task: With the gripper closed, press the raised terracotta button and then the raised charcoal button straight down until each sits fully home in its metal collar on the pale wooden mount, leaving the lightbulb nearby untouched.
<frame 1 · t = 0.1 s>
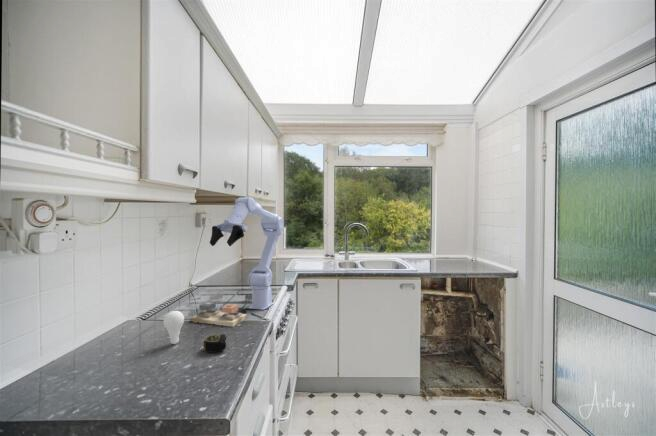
hand: (220, 244, 111), 32 cm above the countertop, fingers open, 7 cm apart
button mount: (219, 319, 122), on the countertop
button charcoal: (207, 306, 124), point 5 cm above the countertop, slide at 2.5 cm
lightbulb: (174, 344, 100), on the countertop
tape measure: (217, 349, 96), on the countertop
button terracotta: (230, 308, 120), point 5 cm above the countertop, slide at 2.5 cm
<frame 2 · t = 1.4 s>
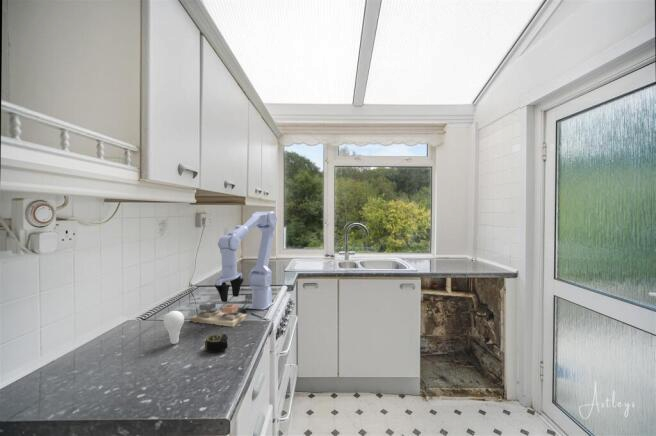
hand: (230, 299, 120), 9 cm above the countertop, fingers open, 7 cm apart
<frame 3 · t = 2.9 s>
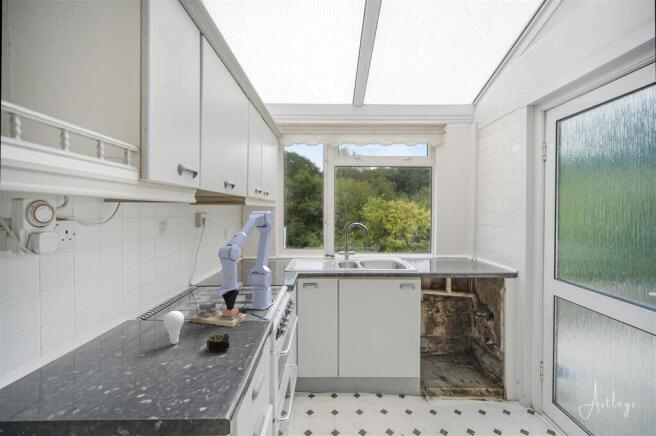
hand: (230, 309, 120), 5 cm above the countertop, fingers closed, pressing on button terracotta
button terracotta: (230, 311, 120), point 4 cm above the countertop, slide at 1.0 cm, touching gripper
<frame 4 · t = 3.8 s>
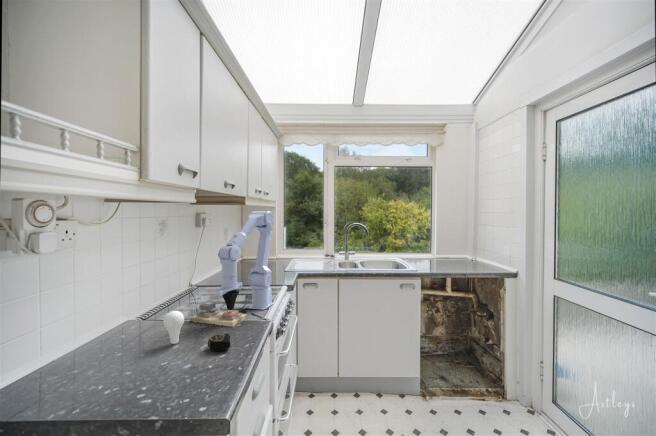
hand: (230, 309, 120), 5 cm above the countertop, fingers closed
button terracotta: (230, 314, 120), point 3 cm above the countertop, slide at -0.1 cm, touching button mount
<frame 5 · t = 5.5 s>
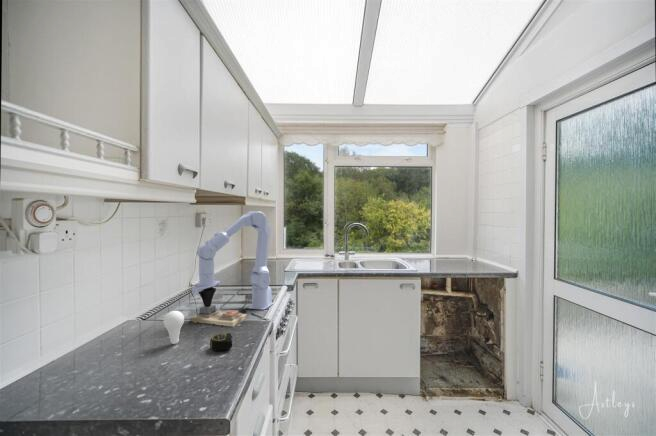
hand: (207, 306, 124), 5 cm above the countertop, fingers closed, pressing on button charcoal
button charcoal: (207, 308, 124), point 4 cm above the countertop, slide at 1.3 cm, touching gripper
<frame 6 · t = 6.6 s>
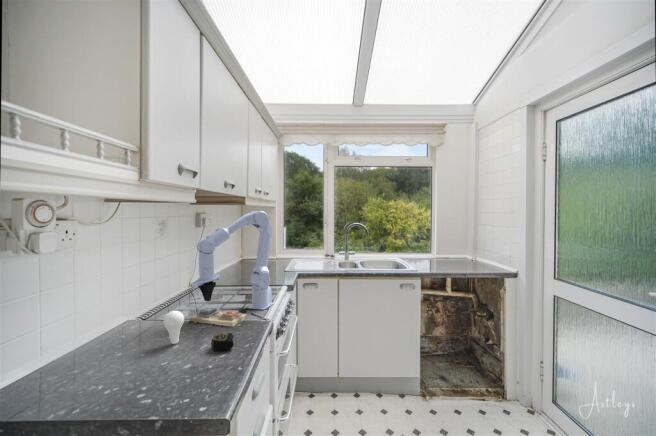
hand: (207, 300, 124), 7 cm above the countertop, fingers closed
button charcoal: (207, 312, 124), point 3 cm above the countertop, slide at -0.1 cm, touching button mount
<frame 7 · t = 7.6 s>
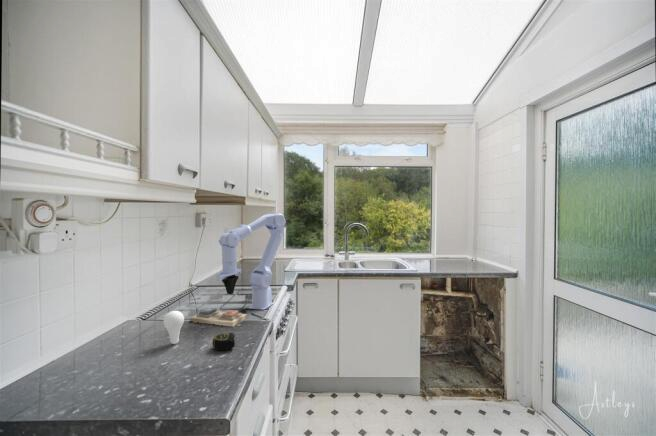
hand: (230, 293, 126), 9 cm above the countertop, fingers closed
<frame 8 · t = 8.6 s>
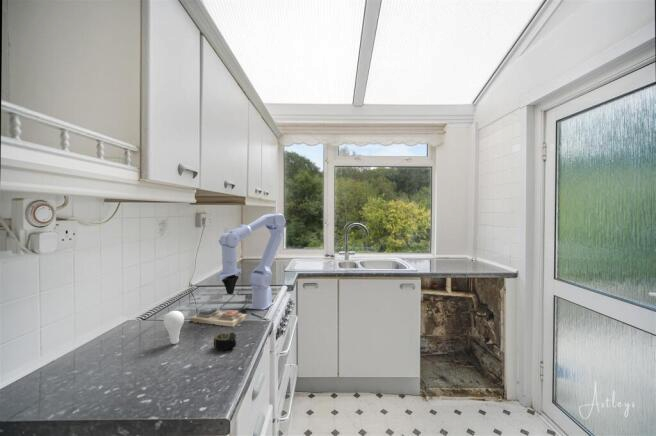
hand: (230, 293, 126), 9 cm above the countertop, fingers closed
at the end: button terracotta slide at -0.1 cm; button charcoal slide at -0.1 cm; lightbulb moved 0.2 cm from its start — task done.
